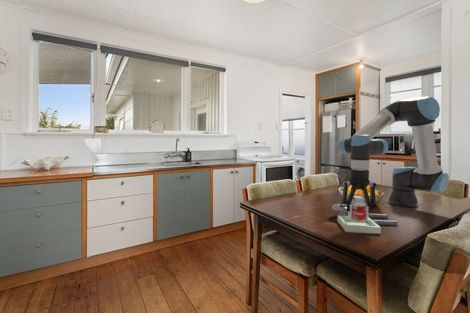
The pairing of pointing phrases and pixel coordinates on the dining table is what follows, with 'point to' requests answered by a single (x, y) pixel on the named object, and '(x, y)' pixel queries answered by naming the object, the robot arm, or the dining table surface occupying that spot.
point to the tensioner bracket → (382, 222)
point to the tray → (358, 225)
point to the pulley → (340, 208)
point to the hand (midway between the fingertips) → (357, 218)
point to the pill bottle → (358, 209)
